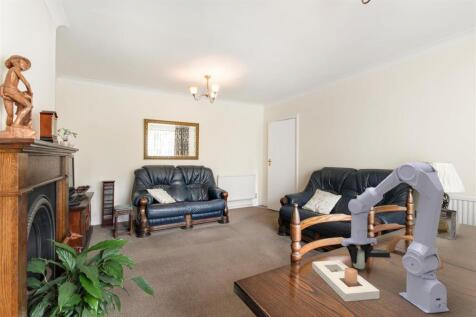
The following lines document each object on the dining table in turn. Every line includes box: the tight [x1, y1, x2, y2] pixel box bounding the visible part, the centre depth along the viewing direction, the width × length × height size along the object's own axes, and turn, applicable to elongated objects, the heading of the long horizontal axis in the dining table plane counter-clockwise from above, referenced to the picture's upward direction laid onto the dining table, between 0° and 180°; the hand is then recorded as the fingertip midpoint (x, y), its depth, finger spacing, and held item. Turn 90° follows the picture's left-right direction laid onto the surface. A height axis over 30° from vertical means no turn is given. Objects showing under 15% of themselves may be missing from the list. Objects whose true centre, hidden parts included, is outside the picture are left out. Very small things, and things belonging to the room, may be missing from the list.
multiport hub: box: [368, 249, 391, 259], centre depth 106 cm, size 4×14×2 cm, turn 88°
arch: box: [385, 235, 444, 271], centre depth 102 cm, size 6×20×10 cm, turn 24°
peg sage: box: [352, 248, 366, 270], centre depth 92 cm, size 4×4×6 cm
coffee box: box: [436, 207, 458, 241], centre depth 132 cm, size 9×6×16 cm
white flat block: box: [311, 259, 380, 303], centre depth 83 cm, size 22×12×2 cm, turn 9°
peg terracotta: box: [344, 266, 359, 287], centre depth 78 cm, size 4×4×6 cm
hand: (358, 262), depth 92 cm, fingers closed on peg sage, 4 cm apart
